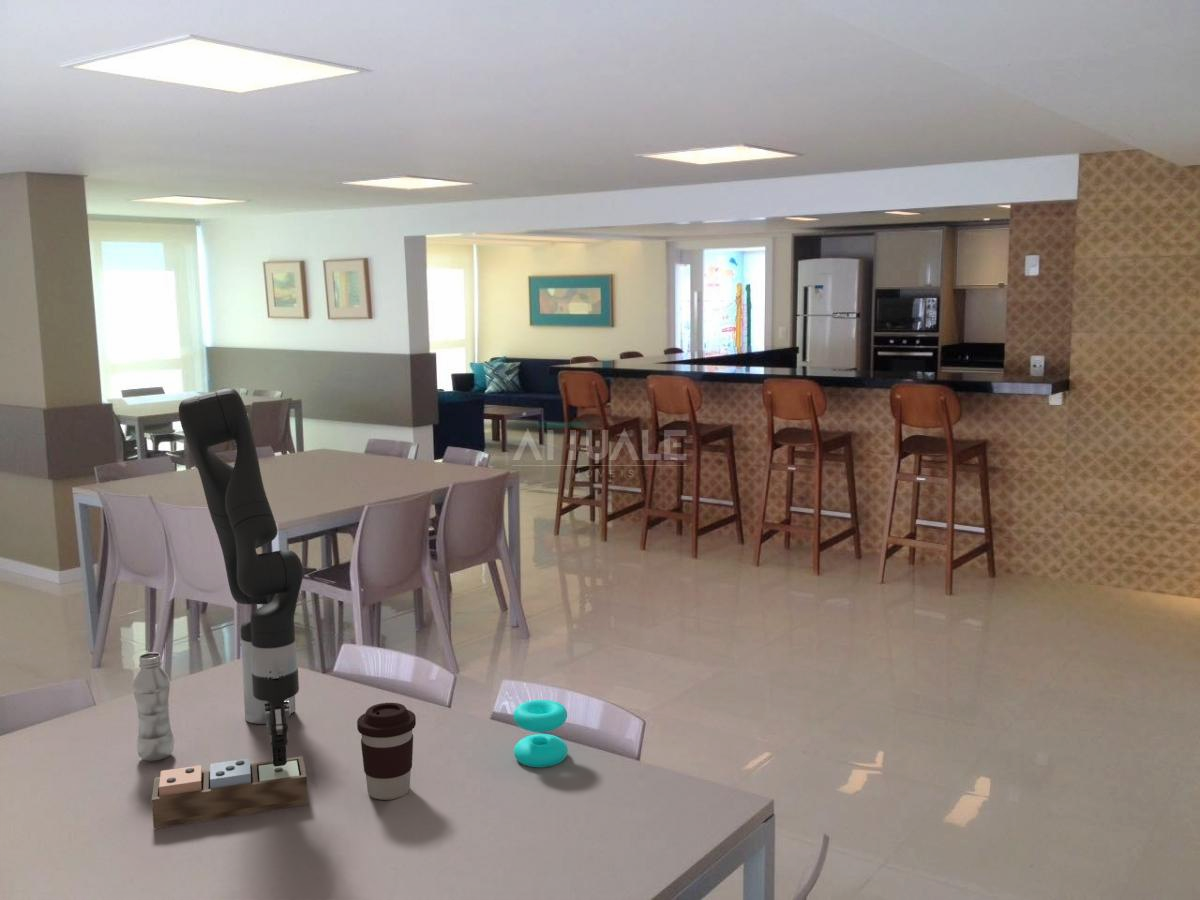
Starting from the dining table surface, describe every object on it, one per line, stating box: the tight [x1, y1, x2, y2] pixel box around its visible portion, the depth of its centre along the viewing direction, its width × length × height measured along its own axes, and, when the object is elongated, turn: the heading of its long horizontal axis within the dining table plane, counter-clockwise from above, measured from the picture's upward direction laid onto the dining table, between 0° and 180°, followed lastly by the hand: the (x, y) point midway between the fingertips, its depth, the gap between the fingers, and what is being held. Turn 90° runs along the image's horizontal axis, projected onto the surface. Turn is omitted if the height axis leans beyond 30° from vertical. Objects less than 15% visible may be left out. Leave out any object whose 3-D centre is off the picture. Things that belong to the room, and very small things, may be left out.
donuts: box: [513, 699, 569, 768], centre depth 195 cm, size 10×10×10 cm
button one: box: [259, 760, 299, 782], centre depth 179 cm, size 6×6×3 cm
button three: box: [209, 758, 251, 789], centre depth 177 cm, size 6×6×3 cm
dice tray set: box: [151, 755, 309, 829], centre depth 177 cm, size 24×9×5 cm, turn 110°
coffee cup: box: [356, 702, 417, 801], centre depth 181 cm, size 10×10×15 cm
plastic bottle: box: [132, 651, 175, 762], centre depth 195 cm, size 6×7×20 cm
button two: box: [159, 764, 203, 797], centre depth 174 cm, size 6×6×3 cm
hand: (279, 764), depth 179 cm, fingers closed
